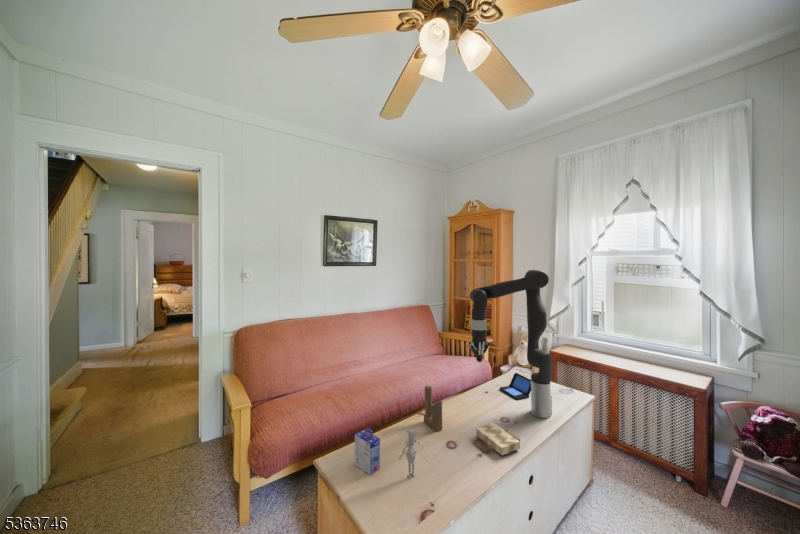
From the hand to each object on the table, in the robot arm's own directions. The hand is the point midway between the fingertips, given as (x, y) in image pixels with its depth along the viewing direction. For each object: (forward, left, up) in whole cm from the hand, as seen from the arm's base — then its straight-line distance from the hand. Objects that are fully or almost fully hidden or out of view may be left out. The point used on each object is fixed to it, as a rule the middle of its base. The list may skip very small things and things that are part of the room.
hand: (479, 361), depth 149 cm
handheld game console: (-37, -12, -29) cm, 49 cm away
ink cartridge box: (+64, +9, -29) cm, 71 cm away
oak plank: (+8, +12, -26) cm, 30 cm away
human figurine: (+51, +22, -29) cm, 62 cm away
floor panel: (+7, +20, -29) cm, 36 cm away
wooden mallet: (+26, -4, -29) cm, 39 cm away
